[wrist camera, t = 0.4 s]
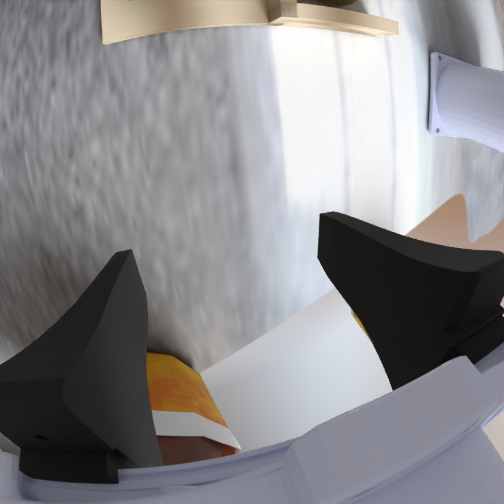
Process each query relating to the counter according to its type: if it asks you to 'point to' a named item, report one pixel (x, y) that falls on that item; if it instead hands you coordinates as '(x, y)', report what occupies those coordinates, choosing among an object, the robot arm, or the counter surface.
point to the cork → (335, 2)
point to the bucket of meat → (185, 413)
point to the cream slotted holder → (229, 17)
